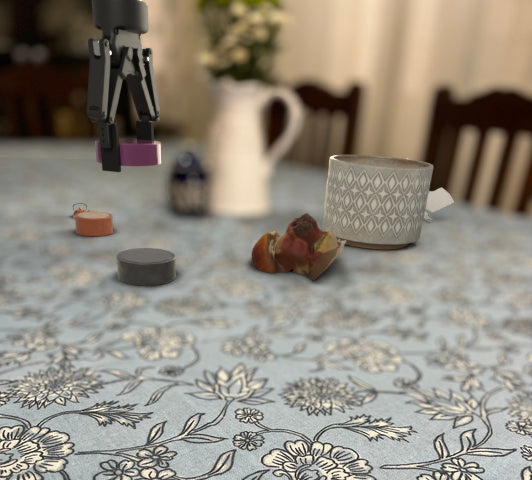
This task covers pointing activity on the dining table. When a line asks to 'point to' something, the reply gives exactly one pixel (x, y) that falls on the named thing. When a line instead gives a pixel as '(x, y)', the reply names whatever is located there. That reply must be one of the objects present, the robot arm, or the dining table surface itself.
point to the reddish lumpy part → (297, 249)
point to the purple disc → (136, 152)
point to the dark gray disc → (146, 266)
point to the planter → (376, 200)
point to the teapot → (80, 209)
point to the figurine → (437, 200)
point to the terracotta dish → (93, 223)
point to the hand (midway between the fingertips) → (130, 167)
